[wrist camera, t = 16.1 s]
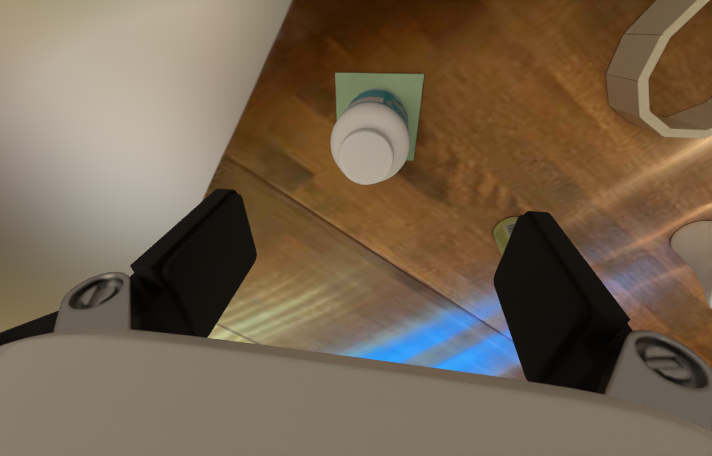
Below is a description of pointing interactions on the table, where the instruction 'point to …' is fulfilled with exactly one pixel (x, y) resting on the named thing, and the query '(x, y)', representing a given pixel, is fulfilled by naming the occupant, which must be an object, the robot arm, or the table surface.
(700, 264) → the cup
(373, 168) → the pill bottle
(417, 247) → the table surface
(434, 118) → the table surface
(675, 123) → the polygonal ring band
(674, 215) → the table surface
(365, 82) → the mat
